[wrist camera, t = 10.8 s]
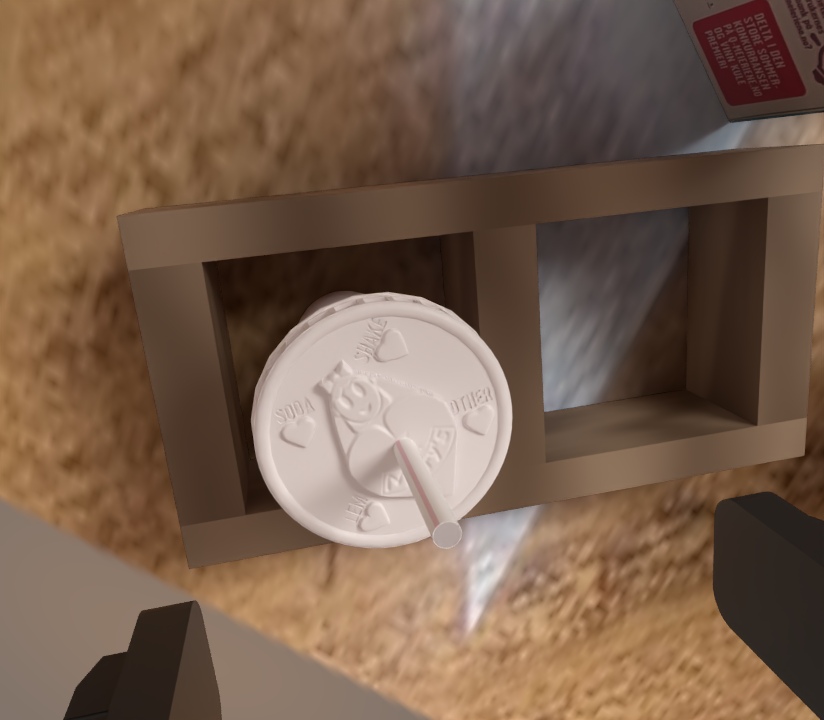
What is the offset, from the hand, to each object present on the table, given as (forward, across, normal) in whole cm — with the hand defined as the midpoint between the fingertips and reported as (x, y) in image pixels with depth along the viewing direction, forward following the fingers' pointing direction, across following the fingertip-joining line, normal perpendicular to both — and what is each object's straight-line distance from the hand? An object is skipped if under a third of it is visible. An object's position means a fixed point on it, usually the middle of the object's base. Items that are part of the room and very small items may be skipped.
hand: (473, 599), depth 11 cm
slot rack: (+16, -4, 0) cm, 17 cm away
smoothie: (+16, 0, 0) cm, 16 cm away
